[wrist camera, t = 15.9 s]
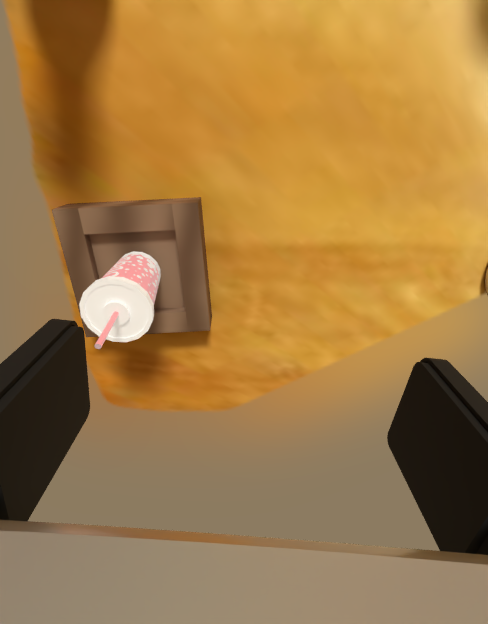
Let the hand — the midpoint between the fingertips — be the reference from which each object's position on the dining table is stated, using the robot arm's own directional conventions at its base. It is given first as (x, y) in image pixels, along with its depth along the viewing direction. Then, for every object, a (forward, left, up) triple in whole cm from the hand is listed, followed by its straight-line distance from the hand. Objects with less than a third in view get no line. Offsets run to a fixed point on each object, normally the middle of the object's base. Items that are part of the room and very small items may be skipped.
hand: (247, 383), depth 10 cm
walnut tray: (+11, +6, -31) cm, 33 cm away
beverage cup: (+11, +6, -28) cm, 31 cm away
